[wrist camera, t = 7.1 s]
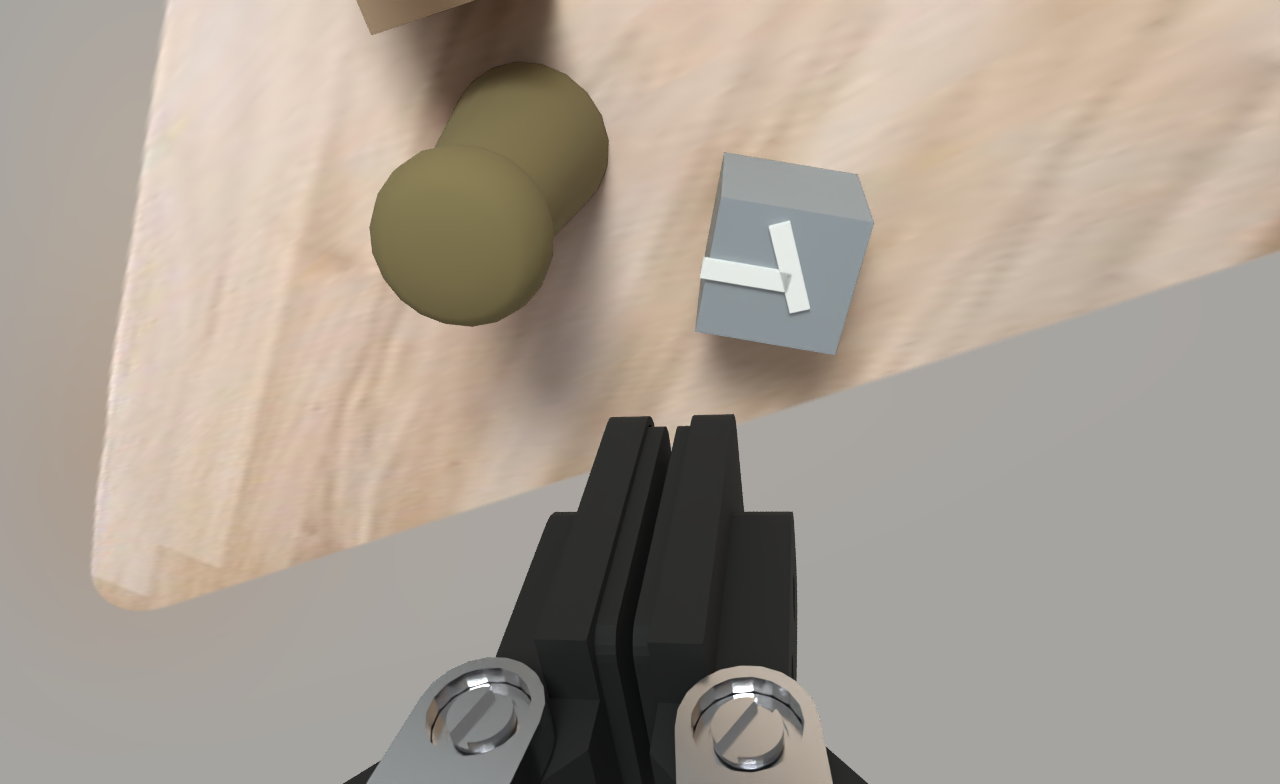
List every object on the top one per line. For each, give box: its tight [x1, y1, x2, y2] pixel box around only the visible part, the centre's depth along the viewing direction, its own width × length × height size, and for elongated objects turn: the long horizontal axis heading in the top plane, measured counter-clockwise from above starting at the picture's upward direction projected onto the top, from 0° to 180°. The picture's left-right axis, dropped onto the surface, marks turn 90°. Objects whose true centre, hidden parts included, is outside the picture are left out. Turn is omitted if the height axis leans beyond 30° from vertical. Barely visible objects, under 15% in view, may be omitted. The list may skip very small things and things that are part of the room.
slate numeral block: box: [695, 152, 874, 355], centre depth 32 cm, size 5×5×5 cm
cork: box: [370, 62, 608, 327], centre depth 29 cm, size 6×6×11 cm
